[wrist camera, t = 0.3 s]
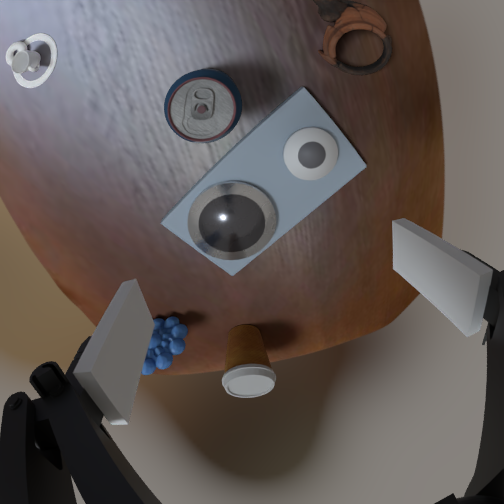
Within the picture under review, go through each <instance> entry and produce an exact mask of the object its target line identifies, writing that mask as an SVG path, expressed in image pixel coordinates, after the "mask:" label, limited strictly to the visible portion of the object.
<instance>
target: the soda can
mask: <svg viewBox="0 0 504 504" xmlns="http://www.w3.org/2000/svg"><path fill="white" fill-rule="evenodd" d="M164 112H165V117H166V120H167V122H168V124H169V126H170V128H171V129H172V130H173V131H174V132H175V133H176V134H177V135H178V136H180V137H181V138H183V139H185V140H187V141H190V142H194V143H209V142H214V141H217V140H219V139H221V138H223V137H225V136H226V135H227V134H229V133H230V132H231V131H232V130H233V129H234V127H235V126H236V124H237V123H238V121H239V119H240V116H241V112H242V100H241V95H240V93H239V90H238V88H237V87H236V85H235V83H234V82H233V80H232V79H231V78H230V77H229V76H228V75H227V74H225V73H224V72H222V71H219V70H216V69H201V70H197V71H193V72H190V73H188V74H185V75H184V76H182V77H181V78H179V79H178V80H177V81H176V82H175V83H174V84H173V85H172V86H171V88H170V89H169V91H168V93H167V95H166V98H165V103H164Z"/></svg>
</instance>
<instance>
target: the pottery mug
mask: <svg viewBox="0 0 504 504" xmlns="http://www.w3.org/2000/svg"><path fill="white" fill-rule="evenodd" d="M313 1H314V2H315V3H316V4H317V5H318V7H319V10H318V13H319V14H320V16H321V18H322V19H323V20H324V21H328V22H334V21H336V23H335V25H334V26H331V25H328V26H327V29H326V32H325V35H324V40H323V51H324V52H322V51H321V50H318V52H319V54H320V55H321V56H322V57H323V58H324V59H325V60H326V61H327V62H328V63H330V64H331V65H332V66H334V67H337V68H339V69H340V70H341V71H344V72H346V73H349V74H353V75H364V74H365V75H366V74H371V73H374V72H377V71H378V70H380V69H382V68H383V67H384V66H385V65H386V64H387V62H388V61H389V59H390V57H391V53H392V47H391V36H390V35H388V36H387V35H385V34H384V31H385V29H386V27H387V25H386V23H385V21H384V19H383V18H382V17H381V16H380V15H379V14H378V13H377V12H376V11H375V10H374V9H372V8H371V7H368V6H366V5H363V4H361V3H357V2H354V1H350V0H339V1H338V0H313ZM347 6H349V7H347ZM357 29H363V30H369V31H371V32H373V33H375V34H377V35H378V36H379V37H380V38H381V39H382V41H383V44H384V50H383V54H382V56H381V57H380V58H379V59H378V60H377V61H376V62H375V63H373V64H371V65H368V66H363V67H352V66H349V65H346V64H344V63H342V62H341V61H338V60H337V59H336V58H335V57H336V44H337V42H338V40H339V39H340V38H341V37H342V35H343V34H344V33H347V32H349V31H352V30H357Z"/></svg>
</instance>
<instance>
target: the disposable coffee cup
mask: <svg viewBox="0 0 504 504" xmlns="http://www.w3.org/2000/svg"><path fill="white" fill-rule="evenodd" d="M275 381H276V375H275V373H274V372H273V370H272V369H271V365H270V362H269V359H268V355H267V352H266V349H265V346H264V343H263V340H262V337H261V333H260V330H259V329H258V328H257V327H255V326H252V325H239V326H236V327H234V328H233V329H231V330H230V332H229V334H228V344H227V354H226V364H225V374H224V376H223V378H222V384H223V386H224V387H225V390H226V392H227V393H229V394H230V395H233V396H236V397H242V398H249V397H257V396H261V395H264V394H266V393H268V392H269V391H271V389H273V387H274V385H275Z"/></svg>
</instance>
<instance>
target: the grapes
mask: <svg viewBox="0 0 504 504" xmlns="http://www.w3.org/2000/svg"><path fill="white" fill-rule="evenodd" d="M153 321H154V324H155V326H154V330H153V333H152V336H151V340H150V343H149V347H148V350H147V354H146V357H145V361H144V364H143V368H142V372H141V373H142V374H143V375H149V374H152V373H153V372H154V371H155V369H156V366H157V367H158V368H159V369H166V368H168V367H169V366H170V365H171V364H172V361H173V357H172V355H178V354H180V353H182V352H183V350H184V349H185V341H184V340H183V338H185V337H186V335H187V332H188V329H187V327H186V326H185V325H184V324H180V322H179V319H178V318H177V317H173V316H172V317H169V318H167V319H166V320H165V321H164V320H163V319H161V318H157V319H154V320H153Z"/></svg>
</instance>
